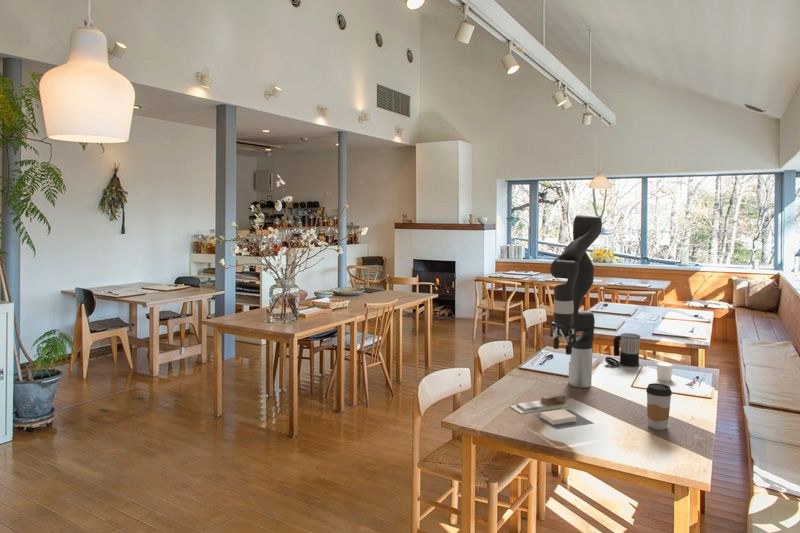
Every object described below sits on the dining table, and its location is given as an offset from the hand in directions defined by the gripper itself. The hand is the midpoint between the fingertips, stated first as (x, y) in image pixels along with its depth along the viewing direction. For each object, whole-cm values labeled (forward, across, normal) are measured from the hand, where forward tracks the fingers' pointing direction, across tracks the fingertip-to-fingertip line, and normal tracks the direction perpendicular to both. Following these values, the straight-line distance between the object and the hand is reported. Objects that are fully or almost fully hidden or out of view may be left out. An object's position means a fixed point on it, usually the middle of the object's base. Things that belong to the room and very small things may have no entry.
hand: (562, 351), depth 226 cm
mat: (+22, -14, +8) cm, 27 cm away
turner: (+21, 0, +8) cm, 23 cm away
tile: (+20, -14, +5) cm, 25 cm away
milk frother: (+24, +41, -62) cm, 77 cm away
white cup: (+23, +15, -64) cm, 70 cm away
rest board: (+22, 0, +9) cm, 24 cm away
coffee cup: (+22, -30, -21) cm, 43 cm away
